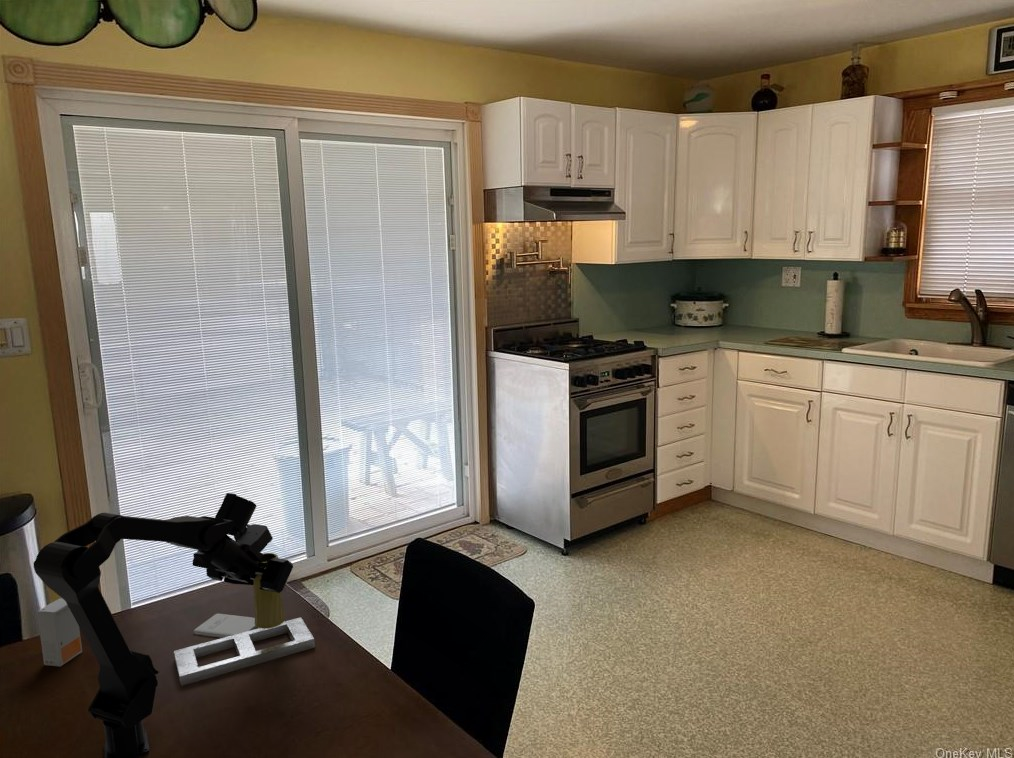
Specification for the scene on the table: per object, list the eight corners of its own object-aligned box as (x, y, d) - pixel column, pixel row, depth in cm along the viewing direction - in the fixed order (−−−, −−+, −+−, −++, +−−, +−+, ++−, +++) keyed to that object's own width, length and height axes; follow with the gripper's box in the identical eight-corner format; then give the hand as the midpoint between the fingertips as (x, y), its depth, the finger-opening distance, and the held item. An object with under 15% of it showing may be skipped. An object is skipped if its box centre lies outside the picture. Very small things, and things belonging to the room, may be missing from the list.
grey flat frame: (314, 647, 154) (314, 638, 154) (180, 686, 142) (179, 676, 142) (301, 625, 164) (300, 617, 164) (174, 659, 151) (173, 650, 151)
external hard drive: (242, 643, 158) (194, 636, 162) (264, 624, 166) (218, 618, 170) (241, 636, 158) (193, 629, 162) (264, 618, 166) (217, 612, 169)
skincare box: (61, 667, 150) (53, 612, 148) (43, 665, 151) (35, 611, 149) (83, 651, 156) (76, 598, 154) (66, 650, 157) (59, 597, 155)
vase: (249, 629, 152) (244, 563, 149) (261, 615, 158) (256, 551, 155) (278, 629, 151) (273, 563, 149) (289, 615, 157) (284, 551, 155)
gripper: (283, 522, 143) (323, 555, 155) (211, 511, 151) (255, 543, 163) (257, 577, 137) (300, 607, 149) (184, 562, 145) (231, 592, 157)
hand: (271, 585), depth 154 cm, fingers closed on vase, 5 cm apart
